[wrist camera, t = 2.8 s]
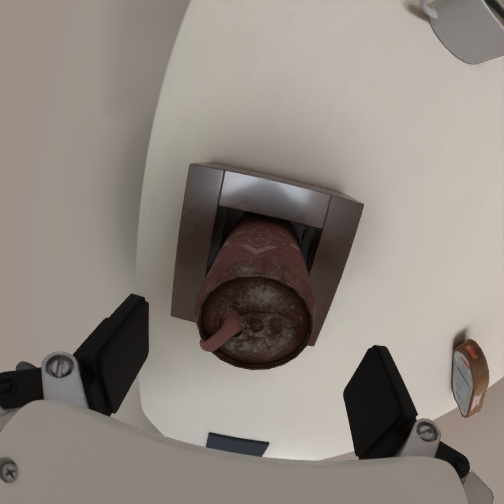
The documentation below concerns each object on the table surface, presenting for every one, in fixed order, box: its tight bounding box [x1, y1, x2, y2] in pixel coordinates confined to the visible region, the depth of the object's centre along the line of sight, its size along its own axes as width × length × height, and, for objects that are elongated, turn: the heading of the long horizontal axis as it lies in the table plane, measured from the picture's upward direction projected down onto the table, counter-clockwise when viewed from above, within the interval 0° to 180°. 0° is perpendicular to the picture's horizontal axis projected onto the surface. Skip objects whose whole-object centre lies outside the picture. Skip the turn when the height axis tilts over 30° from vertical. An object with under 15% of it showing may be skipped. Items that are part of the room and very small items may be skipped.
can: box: [194, 212, 318, 370], centre depth 19 cm, size 6×6×14 cm
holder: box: [171, 163, 364, 346], centre depth 22 cm, size 12×12×6 cm
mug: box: [419, 0, 504, 64], centre depth 10 cm, size 11×10×10 cm
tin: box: [452, 339, 489, 418], centre depth 26 cm, size 15×3×8 cm, turn 27°
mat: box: [206, 433, 269, 457], centre depth 37 cm, size 10×8×1 cm
